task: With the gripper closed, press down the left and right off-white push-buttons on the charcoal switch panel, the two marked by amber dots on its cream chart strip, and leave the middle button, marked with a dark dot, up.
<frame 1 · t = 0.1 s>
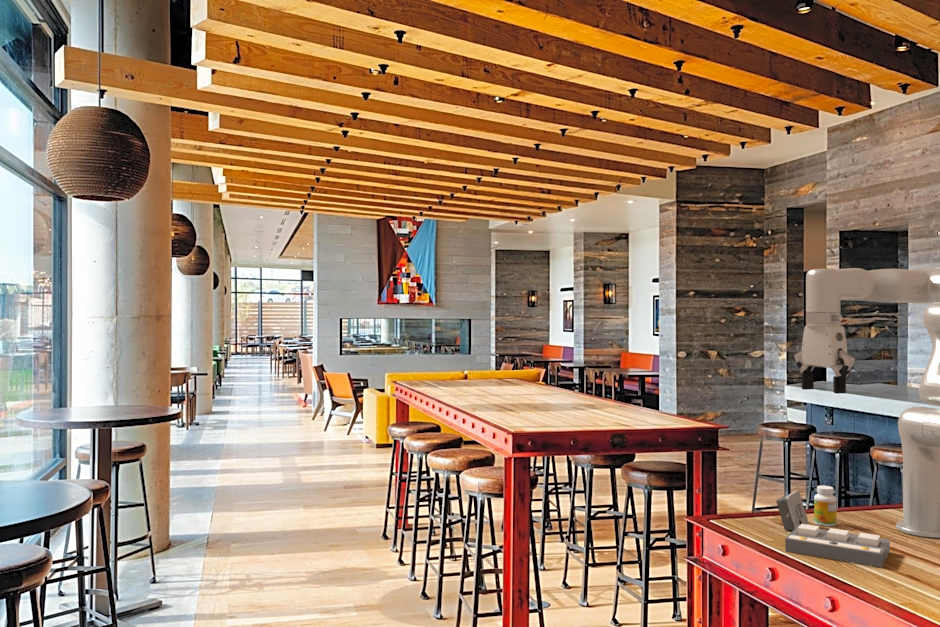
hand: (823, 391, 181), 37 cm above the table, tool pointing down, fingers open, 9 cm apart
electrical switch: (793, 529, 196), on the table
right button: (869, 541, 173), point 3 cm above the table, slide at 0.0 cm
middle button: (838, 536, 177), point 3 cm above the table, slide at 0.0 cm
switch panel: (837, 551, 176), on the table
supplement bottle: (825, 524, 199), on the table
left button: (808, 532, 181), point 3 cm above the table, slide at 0.0 cm
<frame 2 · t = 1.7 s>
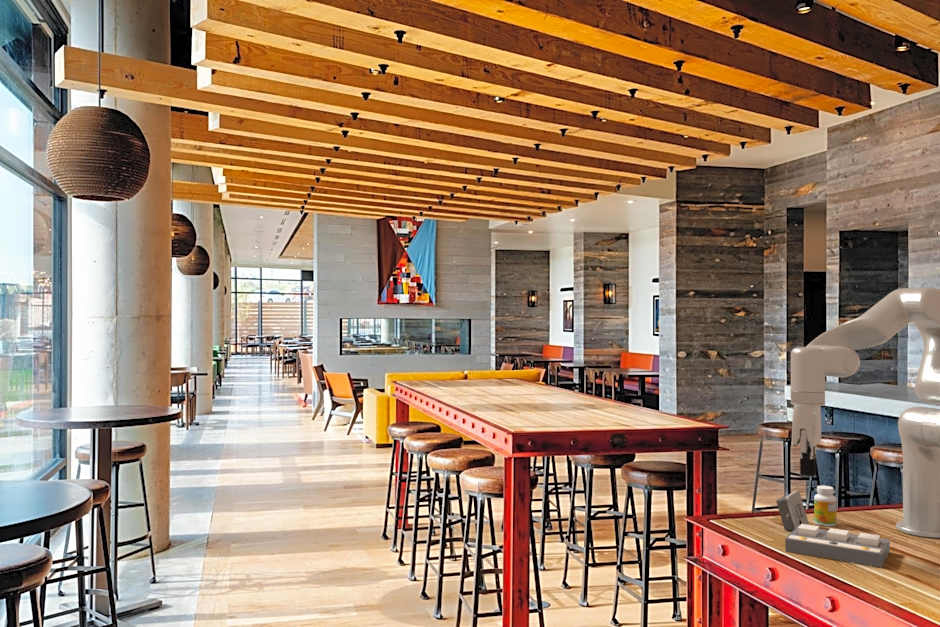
hand: (808, 474, 181), 17 cm above the table, tool pointing down, fingers closed
nothing on the table moved.
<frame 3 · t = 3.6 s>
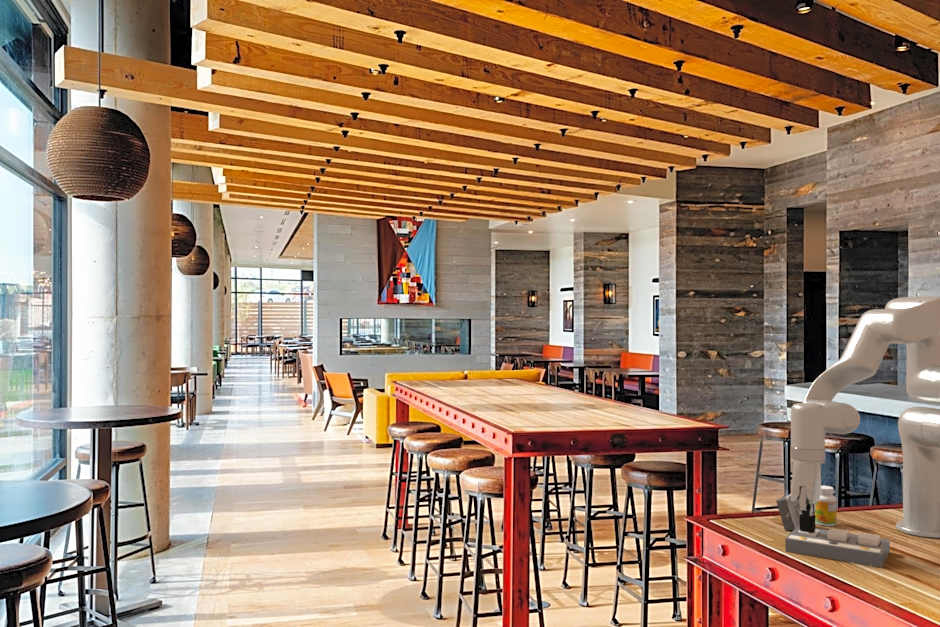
hand: (807, 531, 181), 4 cm above the table, tool pointing down, fingers closed
left button: (808, 536, 181), point 2 cm above the table, slide at 1.0 cm, touching gripper
everything else where it was.
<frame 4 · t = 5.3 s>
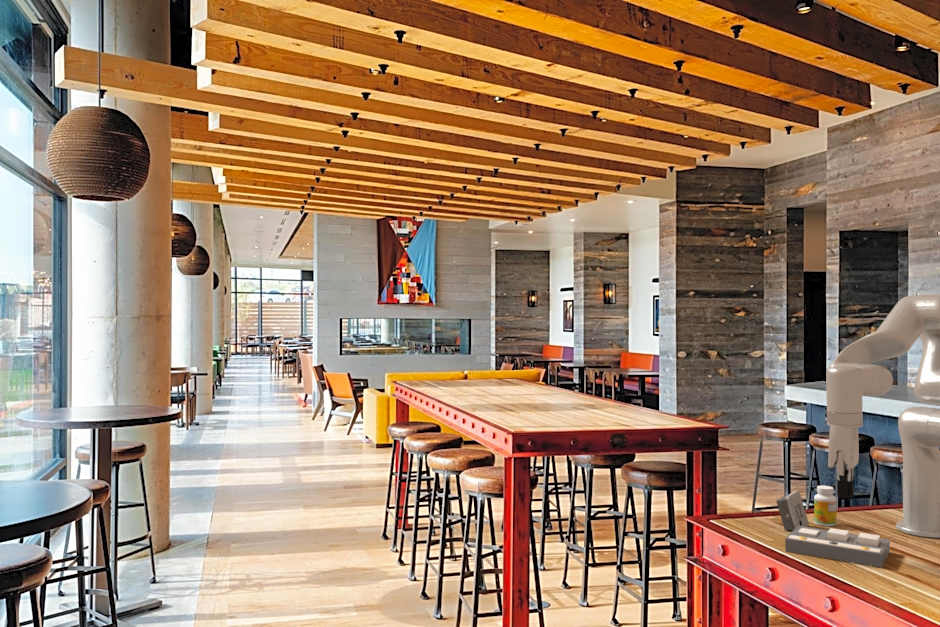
hand: (845, 497, 176), 13 cm above the table, tool pointing down, fingers closed
left button: (808, 536, 181), point 2 cm above the table, slide at 1.0 cm, touching switch panel
everything else where it was.
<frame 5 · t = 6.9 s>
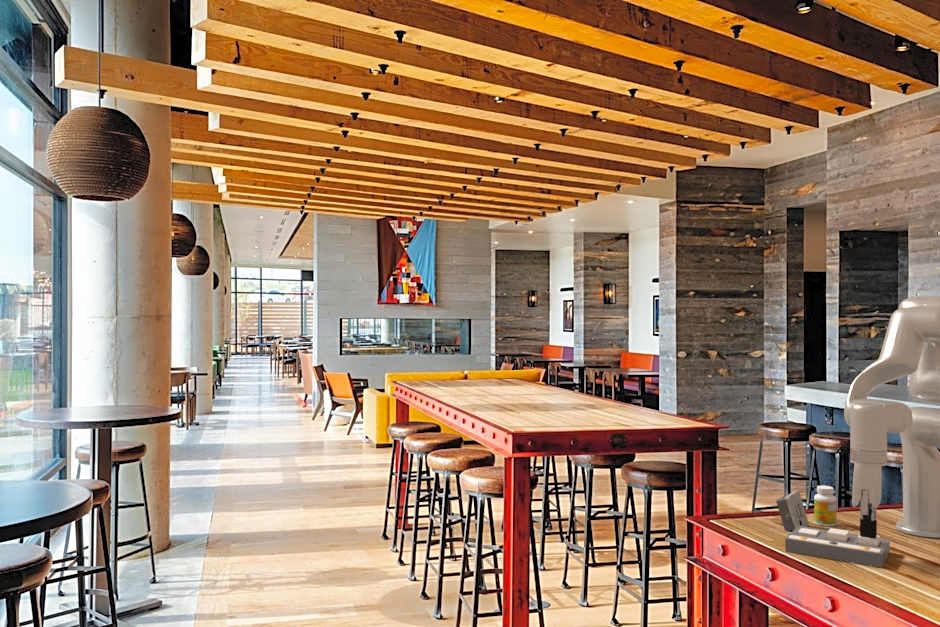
hand: (868, 536, 173), 4 cm above the table, tool pointing down, fingers closed
right button: (869, 541, 173), point 3 cm above the table, slide at 0.0 cm, touching gripper
everything else where it was.
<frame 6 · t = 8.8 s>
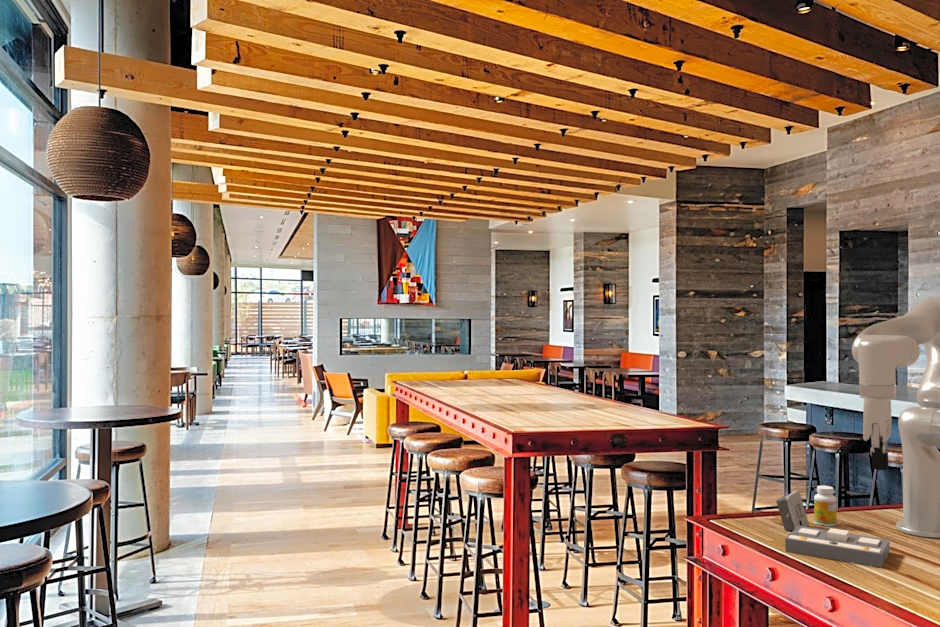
hand: (880, 468, 177), 19 cm above the table, tool pointing down, fingers closed
right button: (869, 546, 173), point 2 cm above the table, slide at 1.0 cm, touching switch panel
everything else where it was.
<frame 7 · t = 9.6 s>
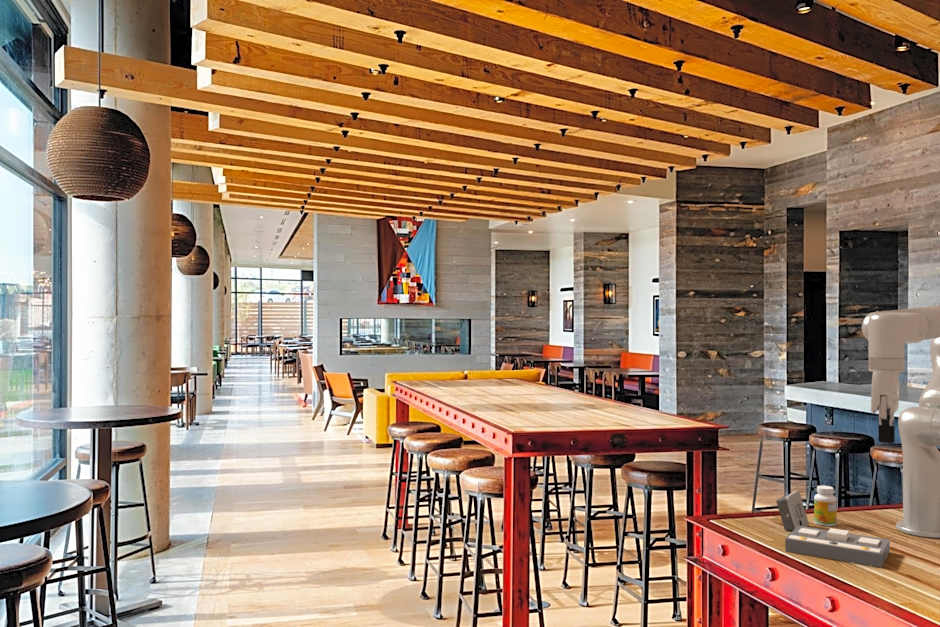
hand: (886, 441, 179), 25 cm above the table, tool pointing down, fingers closed
nothing on the table moved.
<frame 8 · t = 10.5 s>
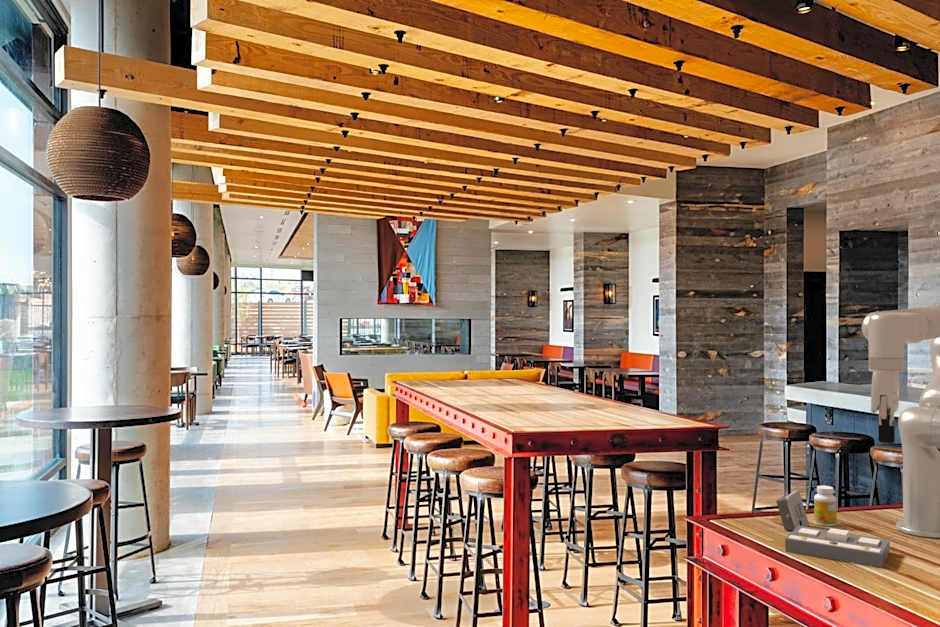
hand: (886, 441, 179), 25 cm above the table, tool pointing down, fingers closed
nothing on the table moved.
at the end: left button slide at 1.0 cm; right button slide at 1.0 cm; middle button slide at 0.0 cm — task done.
